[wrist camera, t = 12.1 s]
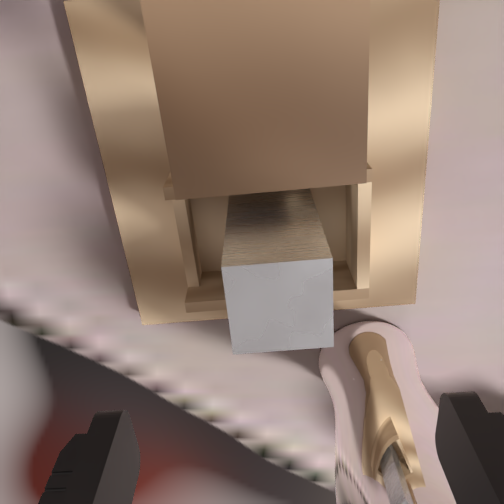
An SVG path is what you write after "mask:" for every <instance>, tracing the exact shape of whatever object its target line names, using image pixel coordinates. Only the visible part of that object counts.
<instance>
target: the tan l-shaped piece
mask: <svg viewBox="0 0 504 504" xmlns="http://www.w3.org/2000/svg"><path fill="white" fill-rule="evenodd" d="M63 2H64V6H65V10H66V14H67V18H68V22H69V27H70V31H71V35H72V39H73V43H74V47H75V51H76V55H77V59H78V63H79V67H80V72H81V76H82V80H83V84H84V88H85V92H86V96H87V100H88V104H89V108H90V112H91V117H92V121H93V125H94V129H95V133H96V137H97V141H98V145H99V149H100V153H101V157H102V162H103V166H104V170H105V174H106V178H107V182H108V186H109V190H110V194H111V198H112V202H113V207H114V211H115V215H116V219H117V223H118V227H119V231H120V235H121V239H122V243H123V247H124V252H125V256H126V260H127V264H128V268H129V272H130V276H131V280H132V284H133V288H134V292H135V297H136V301H137V305H138V309H139V313H140V317H141V321H142V325H151V324H164V323H177V322H189V321H202V320H215V319H228V313H227V306H226V299H225V291H224V284H223V277H222V270H221V264H222V255H223V246H224V237H225V228H226V218H227V209H228V200H229V195H240V194H252V193H263V192H274V191H285V190H297V189H308V188H310V191H311V194H312V197H313V200H314V203H315V206H316V209H317V212H318V215H319V218H320V221H321V224H322V227H323V230H324V233H325V236H326V239H327V242H328V245H329V248H330V251H331V254H332V257H333V310H342V309H354V308H367V307H380V306H392V305H405V304H415V301H416V288H417V276H418V263H419V251H420V239H421V226H422V214H423V201H424V189H425V176H426V164H427V151H428V139H429V127H430V114H431V102H432V89H433V77H434V64H435V52H436V39H437V27H438V15H439V2H440V0H69V1H63Z"/></svg>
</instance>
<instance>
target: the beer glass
mask: <svg viewBox="0 0 504 504" xmlns="http://www.w3.org/2000/svg"><path fill="white" fill-rule="evenodd" d="M319 370H320V374H321V376H322V379H323V381H324V383H325V385H326V387H327V389H328V392H329V394H330V396H331V399H332V402H333V406H334V412H335V487H336V503H337V504H456V501H455V499H454V496H453V494H452V491H451V489H450V486H449V484H448V481H447V479H446V476H445V474H444V471H443V469H442V466H441V464H440V461H439V458H438V455H437V450H436V444H435V431H436V425H437V418H438V411H439V407H438V406H437V404H436V403H435V402H434V400H433V399H432V397H431V396H430V395H429V393H428V392H427V390H426V388H425V386H424V384H423V383H422V380H421V378H420V375H419V371H418V366H417V361H416V356H415V351H414V348H413V345H412V343H411V341H410V339H409V338H408V336H407V335H406V334H405V333H404V332H403V331H402V330H400V329H399V328H397V327H396V326H394V325H391V324H389V323H385V322H380V321H362V322H357V323H353V324H350V325H348V326H345V327H343V328H341V329H340V330H338V331H337V332H335V333H334V347H327V348H322V349H321V352H320V355H319Z"/></svg>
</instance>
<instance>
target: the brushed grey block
mask: <svg viewBox="0 0 504 504" xmlns="http://www.w3.org/2000/svg"><path fill="white" fill-rule="evenodd" d="M221 270H222V277H223V284H224V291H225V299H226V306H227V313H228V320H229V328H230V335H231V342H232V349H233V354H246V353H260V352H273V351H287V350H300V349H314V348H327V347H334V319H333V257H332V254H331V251H330V248H329V245H328V242H327V239H326V236H325V233H324V230H323V227H322V224H321V221H320V218H319V215H318V212H317V209H316V206H315V203H314V200H313V197H312V194H311V191H310V188H308V189H297V190H285V191H274V192H263V193H252V194H240V195H229V200H228V209H227V218H226V228H225V237H224V246H223V255H222V264H221Z"/></svg>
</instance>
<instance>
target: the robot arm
mask: <svg viewBox="0 0 504 504" xmlns="http://www.w3.org/2000/svg"><path fill="white" fill-rule="evenodd" d="M435 444H436V450H437V455H438V458H439V461H440V464H441V466H442V469H443V471H444V474H445V476H446V479H447V481H448V484H449V486H450V489H451V491H452V494H453V496H454V499H455V501H456V504H504V415H503V414H502V413H488V412H487V410H486V409H485V407H484V405H483V403H482V402H481V400H480V398H479V396H478V395H477V394H476V393H475V392H457V393H443V394H442V395H441V398H440V405H439V411H438V418H437V425H436V431H435ZM139 469H140V451H139V446H138V443H137V439H136V436H135V432H134V429H133V425H132V422H131V419H130V415H129V413H128V411H127V410H116V411H99V412H97V413H96V414H95V415H94V417H93V420H92V422H91V425H90V427H89V430H88V433H87V434H75V436H74V437H73V438H72V439H71V440H70V441H69V443H68V444H67V445H66V446H65V447H64V449H62V451H61V452H60V454H59V456H58V458H57V461H56V463H55V466H54V468H53V470H52V475H51V476H50V477H49V480H48V482H47V484H46V487H45V492H44V493H43V494H42V496H41V498H40V501H39V503H38V504H132V500H133V496H134V492H135V488H136V484H137V479H138V475H139Z"/></svg>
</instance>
